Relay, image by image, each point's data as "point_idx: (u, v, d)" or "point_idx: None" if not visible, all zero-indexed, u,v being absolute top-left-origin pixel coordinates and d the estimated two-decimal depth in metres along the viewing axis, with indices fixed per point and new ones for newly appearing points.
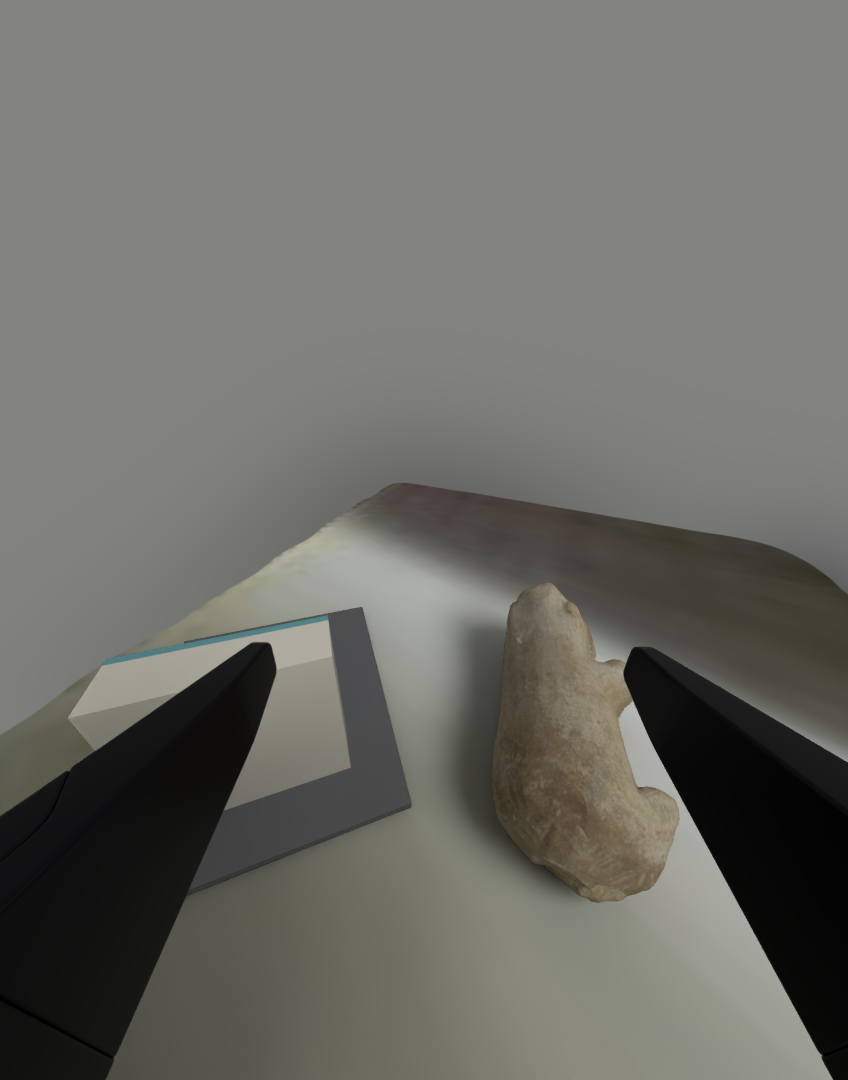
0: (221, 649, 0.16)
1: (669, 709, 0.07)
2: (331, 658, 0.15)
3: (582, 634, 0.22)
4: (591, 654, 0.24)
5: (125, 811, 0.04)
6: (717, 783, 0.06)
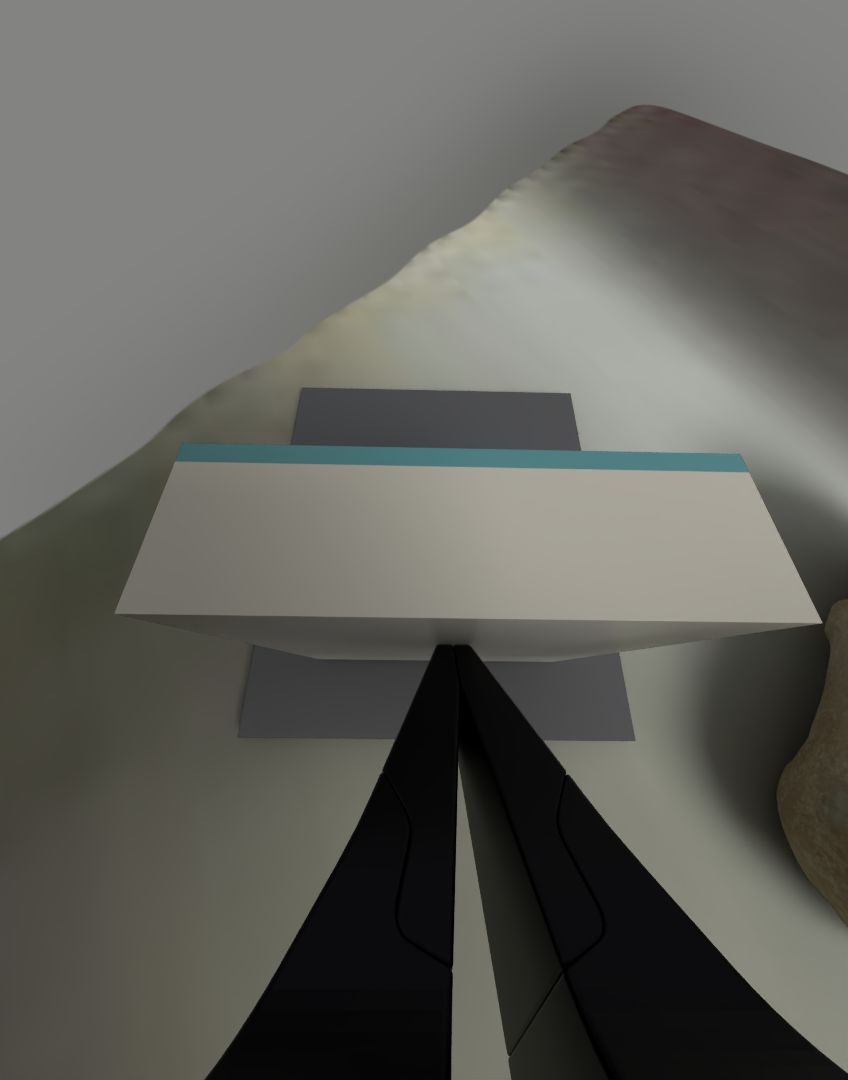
0: (462, 494, 0.05)
1: None
2: (807, 624, 0.05)
3: None
4: None
5: None
6: (472, 781, 0.06)
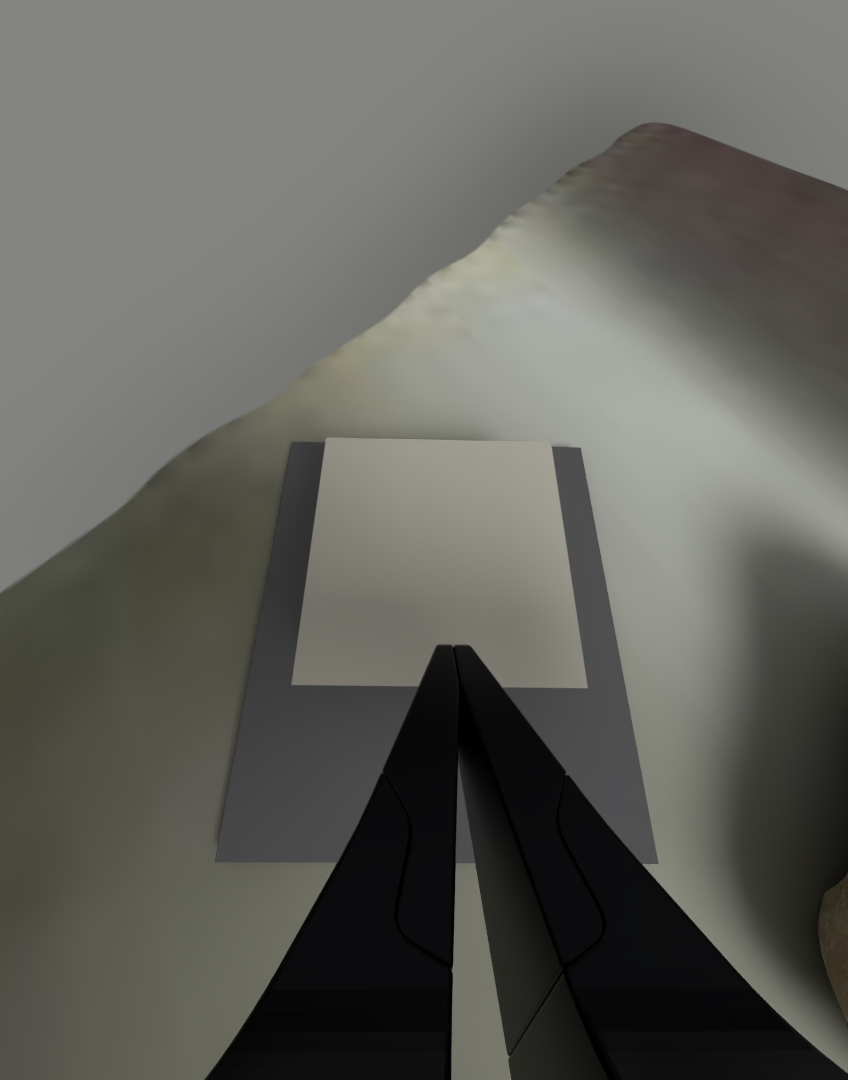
0: None
1: None
2: (550, 445, 0.14)
3: None
4: None
5: None
6: (473, 781, 0.06)
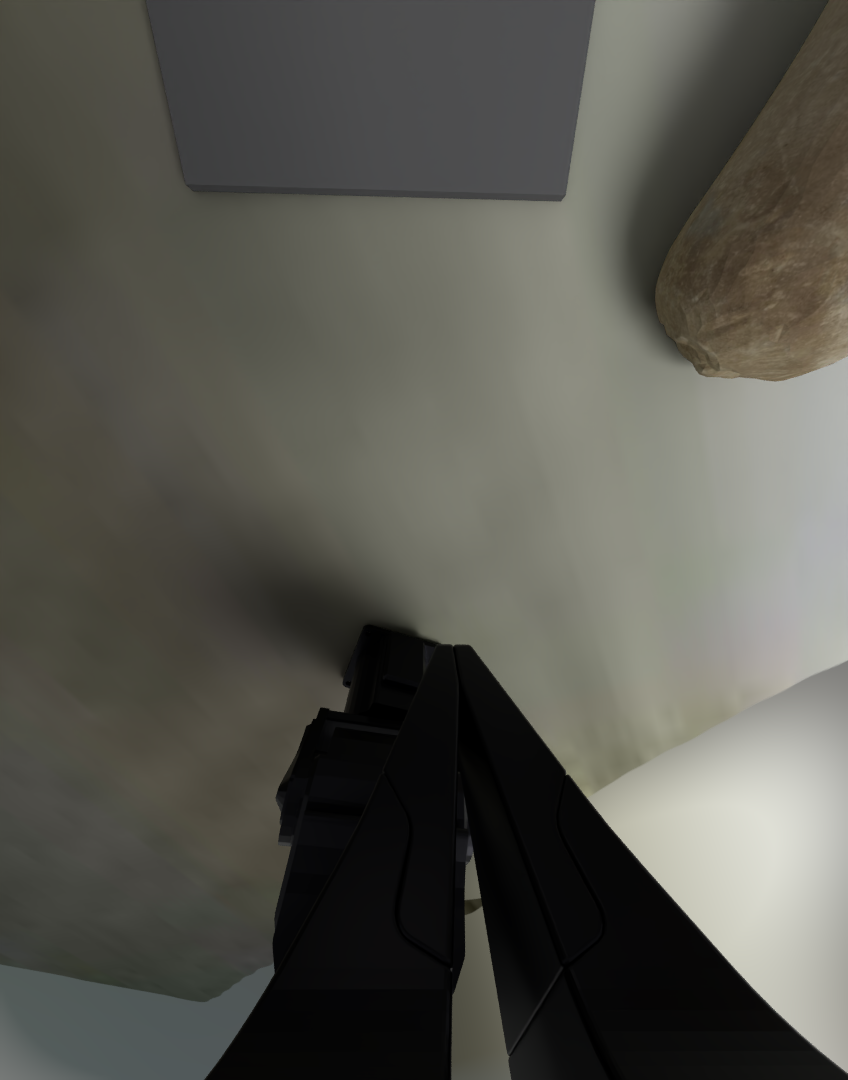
0: None
1: None
2: None
3: None
4: None
5: None
6: (473, 781, 0.06)
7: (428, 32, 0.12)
